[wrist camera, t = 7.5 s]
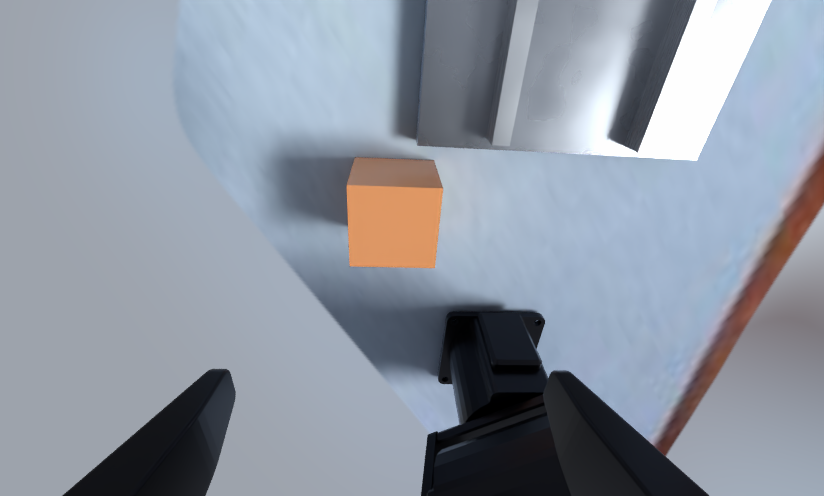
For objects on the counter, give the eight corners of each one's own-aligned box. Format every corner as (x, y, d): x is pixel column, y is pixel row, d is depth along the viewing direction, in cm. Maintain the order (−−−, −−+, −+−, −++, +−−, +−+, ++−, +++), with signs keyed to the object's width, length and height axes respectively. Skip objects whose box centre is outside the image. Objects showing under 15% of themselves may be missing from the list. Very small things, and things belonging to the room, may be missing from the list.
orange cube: (427, 229, 21) (434, 268, 17) (357, 227, 20) (349, 266, 17) (433, 159, 19) (443, 188, 15) (355, 156, 18) (346, 184, 15)
